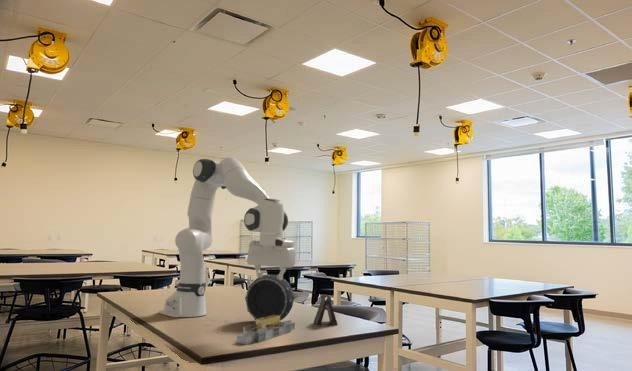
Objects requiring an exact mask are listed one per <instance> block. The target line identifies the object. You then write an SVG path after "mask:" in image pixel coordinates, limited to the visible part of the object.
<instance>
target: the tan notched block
mask: <svg viewBox="0 0 632 371" xmlns="http://www.w3.org/2000/svg"><path fill="white" fill-rule="evenodd" d="M279 322H281V321H280V315H270V316H266V317H262V318H258V319H256V320H255V325H256V327H257V329H261V328H264V327H266V325H267V324H270V326H274V327H277V326H279Z"/></svg>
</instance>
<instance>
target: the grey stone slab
mask: <svg viewBox="0 0 632 371" xmlns="http://www.w3.org/2000/svg"><path fill="white" fill-rule="evenodd" d="M295 329H296V322H292V320H290V319H289V320H285V321H282V322H281V321H279V326H277V327H274V326H270V324H267V325H266V327H264V328H261V329H257V326H255V324H250V325H246V326H243V328H242V333H241V334H239V335H238V334H237V335H236V344H241V345H245V346H246V345H250V344H253V343H255V342H256V343H261V342H263V341H268V340H270V339H273V338H276V337H279V336H282V335H285V334H288V333H291V332H292V330H295Z"/></svg>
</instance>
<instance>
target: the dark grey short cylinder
mask: <svg viewBox="0 0 632 371" xmlns="http://www.w3.org/2000/svg"><path fill="white" fill-rule="evenodd" d="M277 275H278V274H263V277H261V278H259V277H256V278H255V280H253V281H252V282H251V284H250V285H248V287H247V292H246V295H245V298H244V301H245V302H246V303H245V304H246V310H247V312H248V313H249V314H250V315H251V317H252V318H253V319H254V320H255V321H256V319H258V318H262V317H266V316H270V315H280V321H279V322H281V321H282V320H284V319H285V318H286V317H287V316H288V315H289V314H290V312H291V310H292V308H293V306H294V299H295V298H294V296H295V295H294V292H293V288H292V287H291V285H290V283H289V282H288V281H287V280H286V279H285V278H283V279H282V280H279V279H277Z"/></svg>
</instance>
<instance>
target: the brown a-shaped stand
mask: <svg viewBox="0 0 632 371" xmlns="http://www.w3.org/2000/svg"><path fill="white" fill-rule="evenodd" d="M325 311H327V314H328V315H327V316H328V319H329V320H328V321H323V319H324V315H325ZM313 323H314V325H316V326H317V325H327V326H338V324H339V323H338V321H337V318H336V315H335V311H334V309H333V305H332V298H331V296H329V295H328V294H326V293H325V294H323V293H322V294H321V296H320V303H319V306H318V309H317V312H316V315H315V317H314V320H313Z"/></svg>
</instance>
